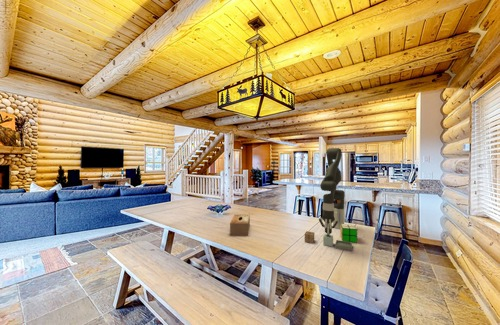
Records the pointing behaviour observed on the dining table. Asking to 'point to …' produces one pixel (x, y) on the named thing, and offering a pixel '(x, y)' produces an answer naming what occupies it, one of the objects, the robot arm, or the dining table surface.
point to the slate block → (328, 240)
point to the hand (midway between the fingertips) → (328, 233)
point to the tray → (343, 245)
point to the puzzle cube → (348, 233)
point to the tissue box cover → (240, 224)
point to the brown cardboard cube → (309, 237)
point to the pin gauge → (328, 230)
